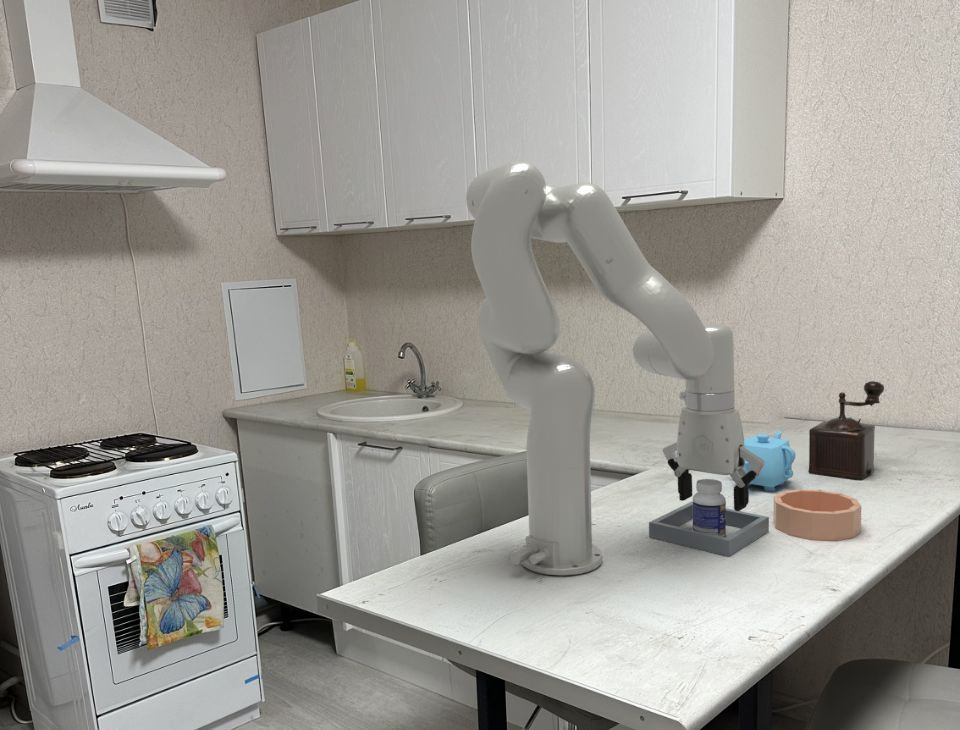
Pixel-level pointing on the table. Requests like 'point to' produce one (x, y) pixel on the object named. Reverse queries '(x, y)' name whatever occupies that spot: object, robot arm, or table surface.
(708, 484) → the pill bottle
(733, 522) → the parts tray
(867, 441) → the coffee grinder
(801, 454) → the table surface
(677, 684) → the table surface
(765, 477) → the teapot
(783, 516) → the bowl
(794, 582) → the table surface
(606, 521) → the table surface
